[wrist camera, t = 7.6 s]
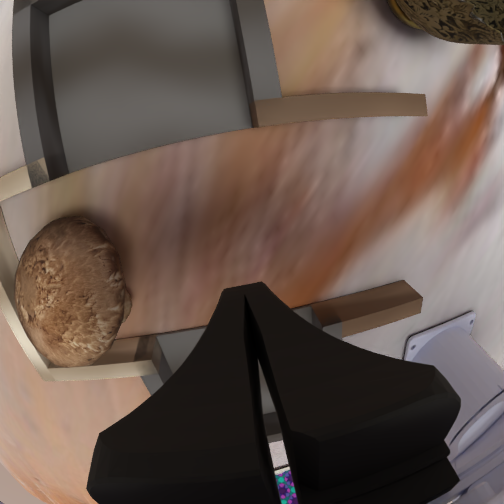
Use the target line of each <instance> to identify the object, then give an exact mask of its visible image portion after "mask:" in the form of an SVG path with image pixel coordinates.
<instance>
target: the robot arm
mask: <svg viewBox="0 0 504 504" xmlns="http://www.w3.org/2000/svg"><path fill="white" fill-rule="evenodd" d="M475 318H476V313H475V312H474V311H472V312H469V313H467V314H465V315H463V316H460V317H458V318H456V319H454V320H451V321H449V322H446V323H444V324H442V325H439V326H437V327H434V328H432V329H429V330H427V331H424V332H422V333H419V334H416V335H414V336H412V337H410V338H409V339H408V342H407V346H406V351H405V356H404V360H400V359H395V358H391V357H388V356H384V355H381V354H377V353H374V352H371V351H368V350H365V349H362V348H359V347H357V346H354V345H352V344H349V343H347V342H344V341H342V340H340V339H338V338H336V337H333V336H331V335H330V334H328V333H326V332H324V331H322V330H320V329H319V328H317V327H315V326H314V325H312V324H311V323H309V322H308V321H306V320H305V319H304V318H302V317H301V316H299V315H298V314H297V313H295V312H294V311H293V310H292V309H291V308H289V307H288V306H287V305H286V304H285V303H283V302H282V301H281V300H280V299H279V298H278V297H277V296H276V295H275V294H274V293H273V292H272V291H271V290H270V289H269V288H268V287H267V286H266V284H264V283H263V282H257V283H252V284H247V285H242V286H237V287H232V288H226V289H224V290H223V292H222V293H221V296H220V299H219V302H218V304H217V307H216V309H215V311H214V313H213V315H212V317H211V319H210V321H209V323H208V325H207V327H206V329H205V331H204V332H203V334H202V336H201V337H200V339H199V341H198V342H197V344H196V345H195V347H194V348H193V350H192V351H191V353H190V354H189V356H188V357H187V358H186V360H185V361H184V362H183V363H182V365H181V366H180V367H179V368H178V369H177V371H176V372H175V373H174V374H173V375H172V376H171V377H170V378H169V379H168V380H167V381H166V382H165V383H164V384H163V385H162V386H161V387H160V388H159V389H158V390H157V391H156V392H155V393H154V394H153V395H152V396H151V397H149V398H148V399H147V400H146V401H145V402H143V403H142V404H141V405H140V406H139V407H137V408H136V409H135V410H133V411H132V412H131V413H129V414H128V415H127V416H125V417H124V418H122V419H121V420H119V421H118V422H116V423H115V424H113V425H112V426H110V427H109V428H107V429H106V430H104V431H102V432H101V433H99V436H98V439H97V442H96V445H95V448H94V452H93V457H92V462H91V467H90V472H89V477H88V482H87V488H86V489H87V491H88V493H89V494H90V496H91V497H92V498H93V499H94V500H95V501H96V502H97V503H99V504H282V503H281V499H280V494H279V490H278V485H277V481H276V476H275V472H274V467H273V462H272V458H271V453H270V448H269V443H268V438H267V434H266V429H265V423H264V416H263V407H262V396H261V385H260V374H259V364H258V360H259V363H260V366H261V369H262V372H263V375H264V378H265V381H266V384H267V387H268V390H269V393H270V396H271V399H272V402H273V405H274V408H275V410H276V414H277V417H278V421H279V425H280V429H281V433H282V437H283V442H284V446H285V450H286V455H287V459H288V463H289V467H290V472H291V476H292V480H293V484H294V489H295V493H296V497H297V501H298V504H447V503H448V502H450V501H453V503H451V504H504V370H503V369H502V368H501V367H500V366H499V365H498V364H497V363H496V362H495V361H494V360H493V359H492V358H491V357H490V356H489V354H488V353H487V352H486V351H485V350H484V349H483V348H482V347H481V346H480V345H479V344H478V343H477V342H476V341H475V340H474V339H473V338H472V337H471V336H470V335H471V331H472V328H473V325H474V321H475ZM0 504H3V503H2V502H1V501H0Z"/></svg>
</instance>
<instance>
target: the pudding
mask: <svg viewBox="0 0 504 504" xmlns="http://www.w3.org/2000/svg"><path fill="white" fill-rule="evenodd" d="M286 470H288V471H286ZM283 471H285V472H283ZM274 472H275V474H278V473H280V472H283V473H282V474H280V475H275V476H276V481H277V485H278V490H279V494H280V499H281V503H282V504H298V501H297V497H296V493H295V489H294V484H293V480H292V476H291V472H290V467H287V468H283V469H280V470H277V471H274Z"/></svg>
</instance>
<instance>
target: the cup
mask: <svg viewBox="0 0 504 504" xmlns="http://www.w3.org/2000/svg"><path fill="white" fill-rule="evenodd" d="M387 1H388V4H389V7H390V9H391V10H392V12H393V13H394V15H395V16H396V17H397V18H398V19H399V20H400V21H402V22H403V23H404V24H406V25H408V26H410V27H412V28H416V29H421V30H424V31H425V32H427V33H429V34H431V35H433V36H435V37H437V38H439V39H442V40H446V41H449V42H455V43H464V44H490V45H504V0H387Z"/></svg>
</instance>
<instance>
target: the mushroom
mask: <svg viewBox="0 0 504 504" xmlns="http://www.w3.org/2000/svg"><path fill="white" fill-rule="evenodd" d="M14 300H15V305H16V309H17V314H18V318H19V321H20V323H21V325H22V327H23V329H24V332H25V334H26V335H27V337H28V339H29V340H30V342H31V343H32V345H33V346H34V347H35V349H36V350H37V351H38V352H39V353H40V354H42V355H43V356H44V357H46V358H47V359H48V360H50V361H51V362H53V363H54V364H55V365H58V366H60V367H65V368H72V367H80V366H87V365H92V364H93V363H94V362H95V361H96V360H98V359H99V358H100V357H101V356H102V355H104V354H105V353H106V352H107V351H108V350H110V349H111V347H112V345H113V342H114V340H115V338H116V335H117V333H118V330H119V328H120V326H121V323H123V322H125V321H126V319H127V317H128V316H129V314H130V311H131V307H132V301H131V297H130V294H129V293H128V292H127V291H126V286H125V281H124V277H123V272H122V268H121V263H120V258H119V255H118V253H117V251H116V249H115V248H114V246H113V245H112V243H111V242H110V240H109V238H108V237H107V235H106V233H105V232H104V230H103V229H101V228H100V227H98V226H97V225H95V224H94V223H92V222H91V221H89V220H88V219H86V218H84V217H80V216H73V217H67V218H60V219H57V220H54V221H52V222H50V223H49V224H47V225H46V226H45V227H44V228H43V229H42V230H41V231H40V232H39V233H38V234H36V235H35V236H34V237H33V238H32V239H31V240H30V242H29V243H28V245H27V247H26V248H25V250H24V252H23V254H22V256H21V258H20V261H19V264H18V267H17V270H16V273H15V284H14Z"/></svg>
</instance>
